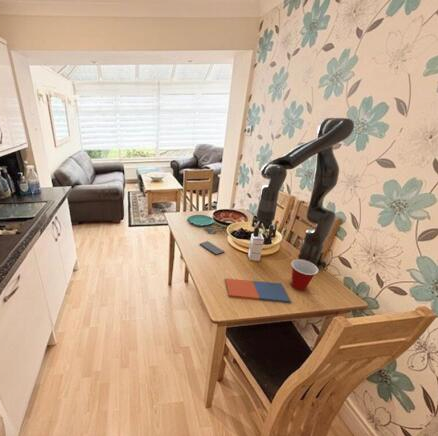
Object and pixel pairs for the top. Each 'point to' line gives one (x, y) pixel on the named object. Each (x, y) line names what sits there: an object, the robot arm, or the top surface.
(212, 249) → the smartphone
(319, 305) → the top surface
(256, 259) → the syrup box
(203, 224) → the teal oval plate
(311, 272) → the plastic cup
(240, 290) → the mat
